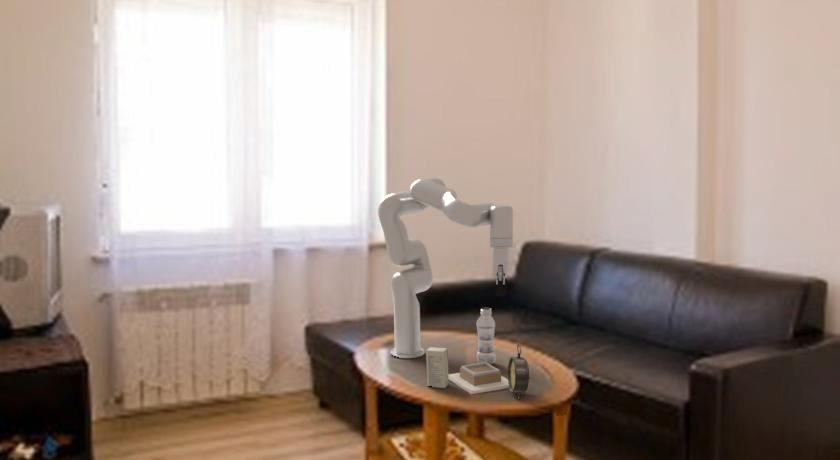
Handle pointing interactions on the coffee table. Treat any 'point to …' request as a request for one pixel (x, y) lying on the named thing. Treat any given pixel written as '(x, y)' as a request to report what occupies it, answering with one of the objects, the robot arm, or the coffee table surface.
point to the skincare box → (437, 367)
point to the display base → (480, 387)
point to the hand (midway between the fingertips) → (501, 293)
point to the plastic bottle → (486, 337)
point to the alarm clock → (518, 374)
